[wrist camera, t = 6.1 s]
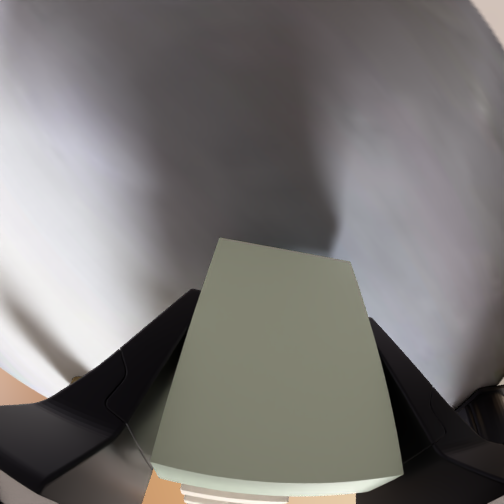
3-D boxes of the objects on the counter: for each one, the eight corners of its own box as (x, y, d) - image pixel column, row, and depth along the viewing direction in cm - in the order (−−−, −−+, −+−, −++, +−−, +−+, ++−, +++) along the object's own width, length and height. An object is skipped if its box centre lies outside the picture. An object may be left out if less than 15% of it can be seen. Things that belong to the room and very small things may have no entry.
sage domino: (219, 237, 11) (149, 461, 4) (350, 261, 11) (403, 474, 4) (215, 272, 12) (159, 478, 5) (336, 293, 12) (368, 491, 5)
